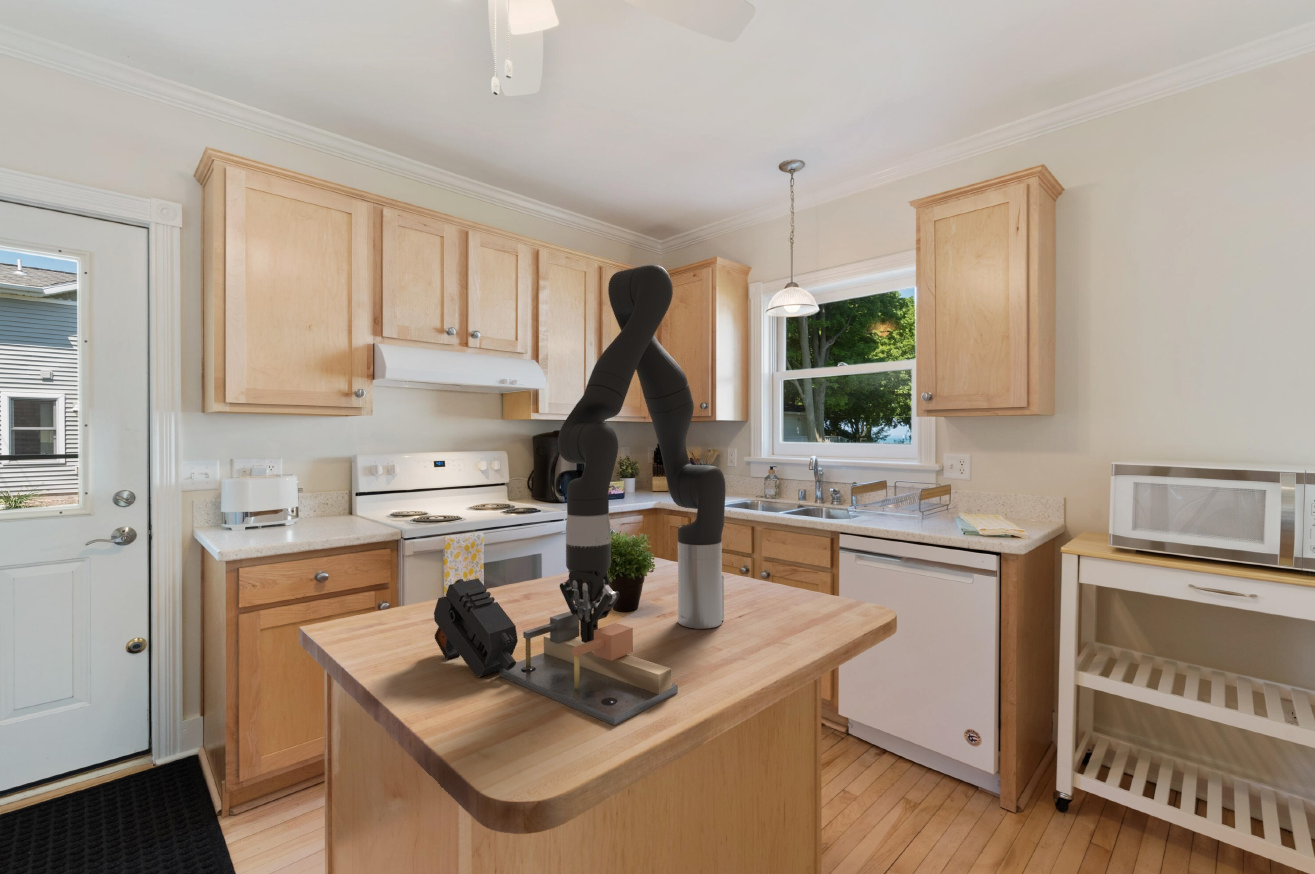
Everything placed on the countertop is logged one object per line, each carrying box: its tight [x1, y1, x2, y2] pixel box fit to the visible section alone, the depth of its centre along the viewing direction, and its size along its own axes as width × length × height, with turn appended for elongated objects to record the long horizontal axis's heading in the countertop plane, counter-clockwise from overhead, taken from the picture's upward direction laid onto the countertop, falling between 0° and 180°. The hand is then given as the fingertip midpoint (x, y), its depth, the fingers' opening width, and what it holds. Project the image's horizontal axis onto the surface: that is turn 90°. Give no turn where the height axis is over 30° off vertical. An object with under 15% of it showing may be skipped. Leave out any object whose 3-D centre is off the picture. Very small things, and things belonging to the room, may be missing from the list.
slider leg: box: [572, 622, 634, 688], centre depth 99 cm, size 11×4×7 cm, turn 139°
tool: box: [433, 578, 519, 678], centre depth 108 cm, size 6×19×15 cm, turn 51°
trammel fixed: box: [522, 610, 673, 694], centre depth 101 cm, size 11×27×7 cm, turn 49°
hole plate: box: [498, 652, 679, 727], centre depth 100 cm, size 14×27×1 cm, turn 49°
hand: (589, 641), depth 105 cm, fingers closed
